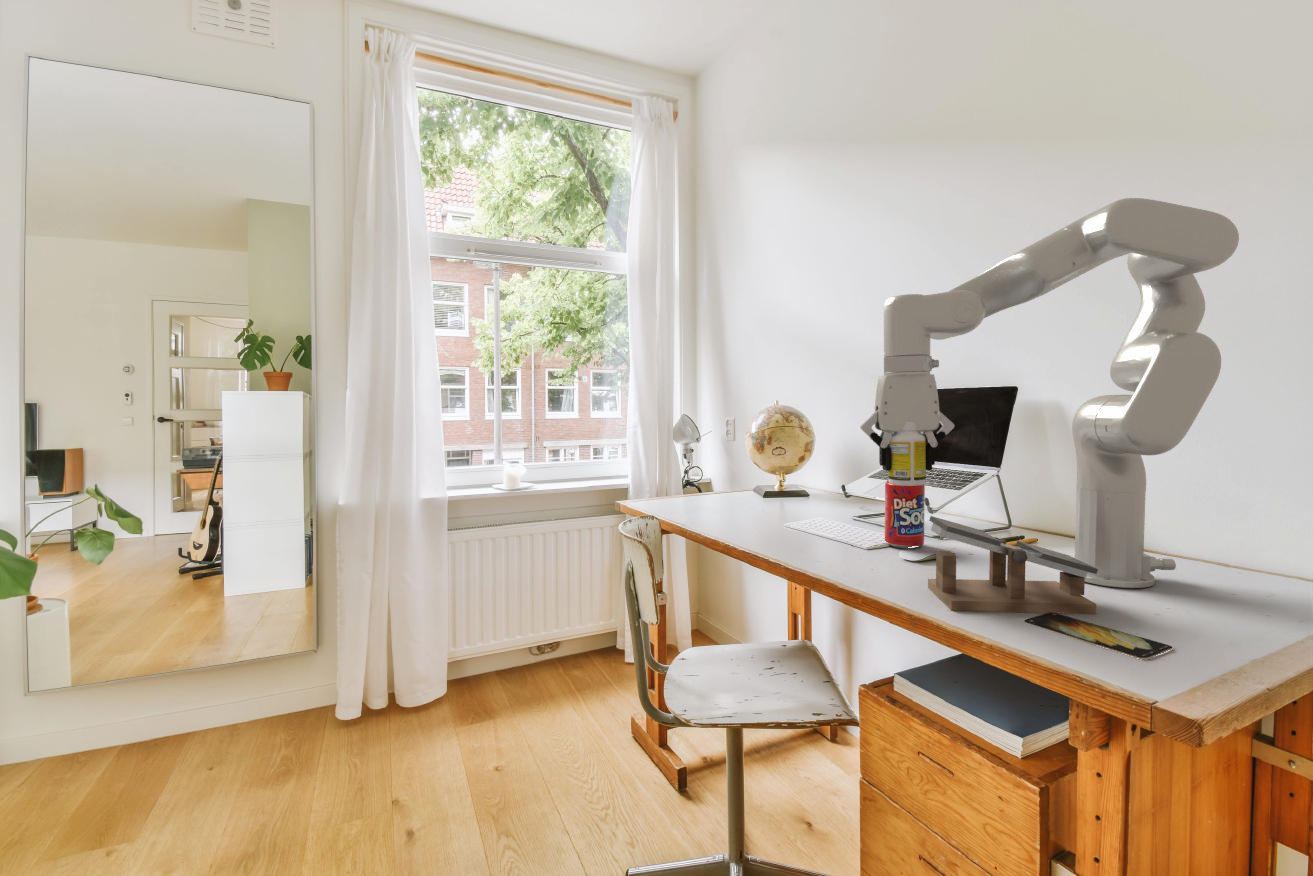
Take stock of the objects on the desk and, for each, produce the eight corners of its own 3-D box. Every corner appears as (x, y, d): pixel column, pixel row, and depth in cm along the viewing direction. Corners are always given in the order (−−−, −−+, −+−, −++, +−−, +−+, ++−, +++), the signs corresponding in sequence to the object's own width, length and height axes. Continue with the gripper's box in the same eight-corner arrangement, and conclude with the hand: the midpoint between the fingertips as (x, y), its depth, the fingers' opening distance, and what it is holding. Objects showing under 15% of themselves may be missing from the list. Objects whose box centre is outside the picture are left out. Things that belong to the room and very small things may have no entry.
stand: (1059, 590, 99) (1060, 536, 98) (1099, 614, 88) (1101, 553, 87) (927, 587, 101) (928, 535, 101) (951, 610, 91) (952, 551, 90)
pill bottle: (919, 481, 110) (919, 420, 109) (931, 486, 104) (931, 421, 103) (883, 481, 110) (883, 421, 110) (893, 486, 104) (893, 422, 104)
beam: (1064, 566, 97) (1068, 555, 97) (1093, 582, 89) (1098, 569, 89) (926, 527, 99) (930, 515, 99) (943, 538, 91) (947, 526, 91)
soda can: (896, 539, 136) (896, 473, 135) (930, 545, 129) (931, 476, 128) (877, 545, 131) (877, 476, 130) (912, 552, 124) (913, 479, 124)
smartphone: (1051, 611, 89) (1175, 646, 76) (1051, 616, 89) (1175, 651, 76) (1021, 620, 86) (1145, 658, 72) (1021, 624, 86) (1145, 663, 72)
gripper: (951, 366, 108) (950, 466, 109) (851, 369, 110) (852, 467, 112) (967, 364, 101) (966, 471, 102) (860, 367, 103) (860, 472, 104)
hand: (906, 468), depth 107 cm, fingers closed on pill bottle, 6 cm apart
